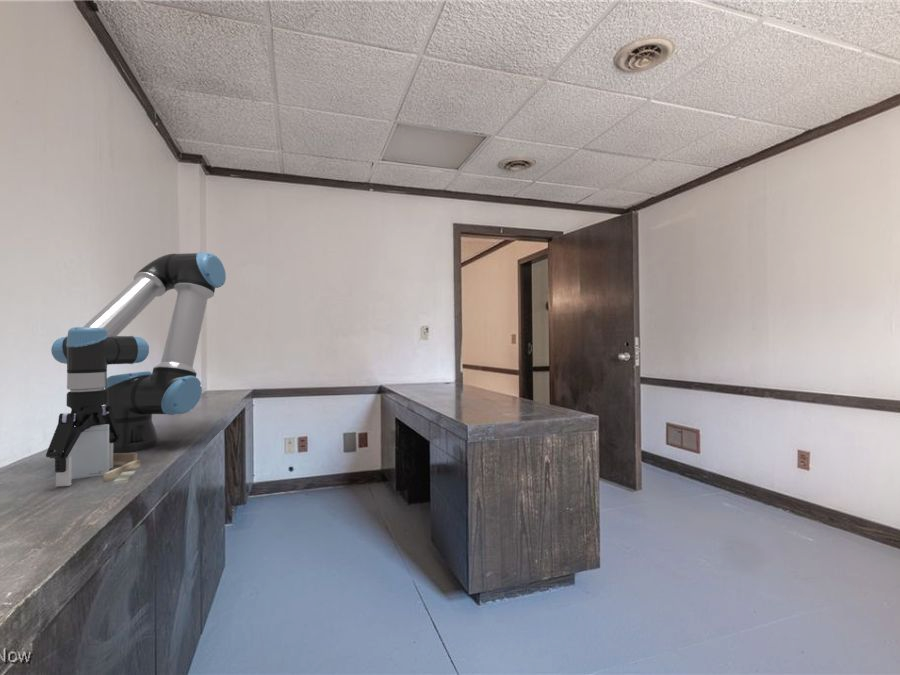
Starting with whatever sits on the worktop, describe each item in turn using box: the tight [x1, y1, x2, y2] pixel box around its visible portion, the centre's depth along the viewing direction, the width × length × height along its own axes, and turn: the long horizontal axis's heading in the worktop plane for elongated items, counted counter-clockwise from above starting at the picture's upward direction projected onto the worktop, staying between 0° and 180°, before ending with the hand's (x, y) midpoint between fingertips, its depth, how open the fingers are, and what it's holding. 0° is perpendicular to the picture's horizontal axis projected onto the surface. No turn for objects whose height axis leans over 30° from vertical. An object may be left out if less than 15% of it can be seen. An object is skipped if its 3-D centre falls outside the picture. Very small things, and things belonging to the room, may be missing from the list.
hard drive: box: [68, 424, 110, 480], centre depth 105 cm, size 2×8×12 cm, turn 119°
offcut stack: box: [111, 470, 137, 486], centre depth 102 cm, size 8×3×1 cm, turn 20°
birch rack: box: [103, 452, 142, 483], centre depth 107 cm, size 16×13×3 cm
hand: (86, 476), depth 104 cm, fingers open, 13 cm apart
